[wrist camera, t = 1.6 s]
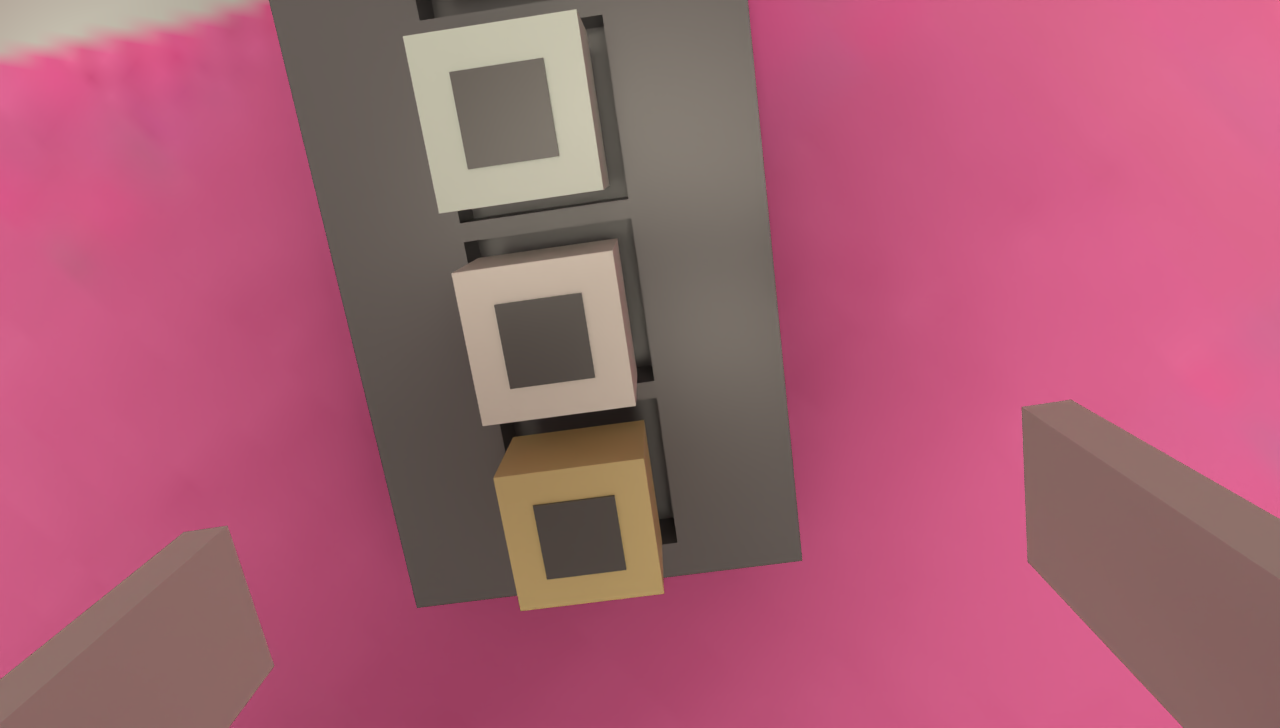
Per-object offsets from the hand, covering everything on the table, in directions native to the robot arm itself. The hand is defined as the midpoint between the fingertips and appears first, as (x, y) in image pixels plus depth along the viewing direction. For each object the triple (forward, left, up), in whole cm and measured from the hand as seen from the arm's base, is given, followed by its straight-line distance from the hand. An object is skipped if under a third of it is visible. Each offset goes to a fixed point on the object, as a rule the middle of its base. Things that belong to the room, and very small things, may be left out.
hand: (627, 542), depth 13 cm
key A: (-2, +8, -12) cm, 15 cm away
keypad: (-2, +5, -16) cm, 16 cm away
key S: (-2, -4, -13) cm, 13 cm away
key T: (-2, +2, -12) cm, 13 cm away
